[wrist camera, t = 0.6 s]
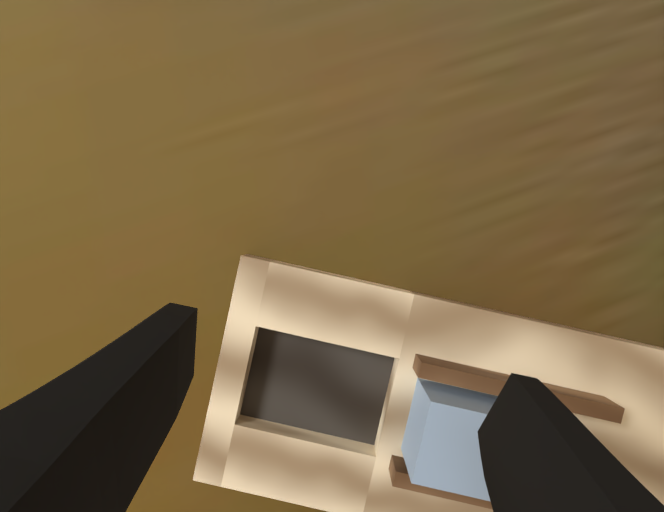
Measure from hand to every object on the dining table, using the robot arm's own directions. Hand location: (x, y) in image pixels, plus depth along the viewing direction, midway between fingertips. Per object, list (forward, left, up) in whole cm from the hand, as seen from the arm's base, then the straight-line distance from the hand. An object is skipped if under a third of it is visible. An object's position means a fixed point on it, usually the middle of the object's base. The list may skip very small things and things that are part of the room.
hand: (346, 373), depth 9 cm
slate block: (-7, -9, -18) cm, 22 cm away
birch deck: (-7, -11, -20) cm, 24 cm away
